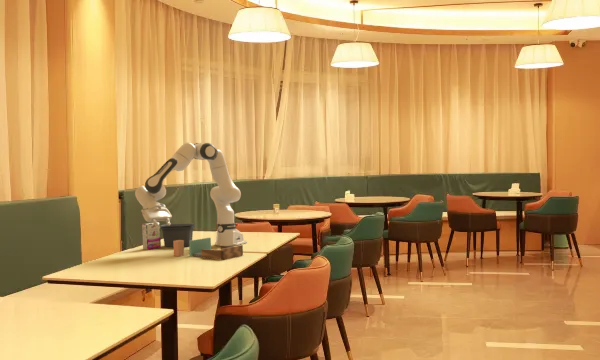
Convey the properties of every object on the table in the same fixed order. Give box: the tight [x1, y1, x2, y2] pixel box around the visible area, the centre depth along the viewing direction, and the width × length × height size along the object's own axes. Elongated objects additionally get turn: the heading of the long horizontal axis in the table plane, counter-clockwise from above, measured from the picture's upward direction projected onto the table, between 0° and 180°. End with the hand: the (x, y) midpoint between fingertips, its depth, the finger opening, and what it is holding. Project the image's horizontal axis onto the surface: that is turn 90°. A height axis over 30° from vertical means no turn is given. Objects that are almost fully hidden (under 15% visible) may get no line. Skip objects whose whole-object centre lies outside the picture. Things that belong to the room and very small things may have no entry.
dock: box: [200, 244, 244, 261], centre depth 377 cm, size 18×16×6 cm
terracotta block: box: [173, 240, 185, 257], centre depth 384 cm, size 4×4×9 cm
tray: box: [188, 237, 212, 258], centre depth 382 cm, size 17×16×9 cm
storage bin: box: [160, 222, 196, 248], centre depth 428 cm, size 21×16×14 cm
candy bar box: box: [141, 222, 162, 251], centre depth 417 cm, size 11×5×16 cm, turn 143°
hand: (163, 225), depth 390 cm, fingers open, 8 cm apart
